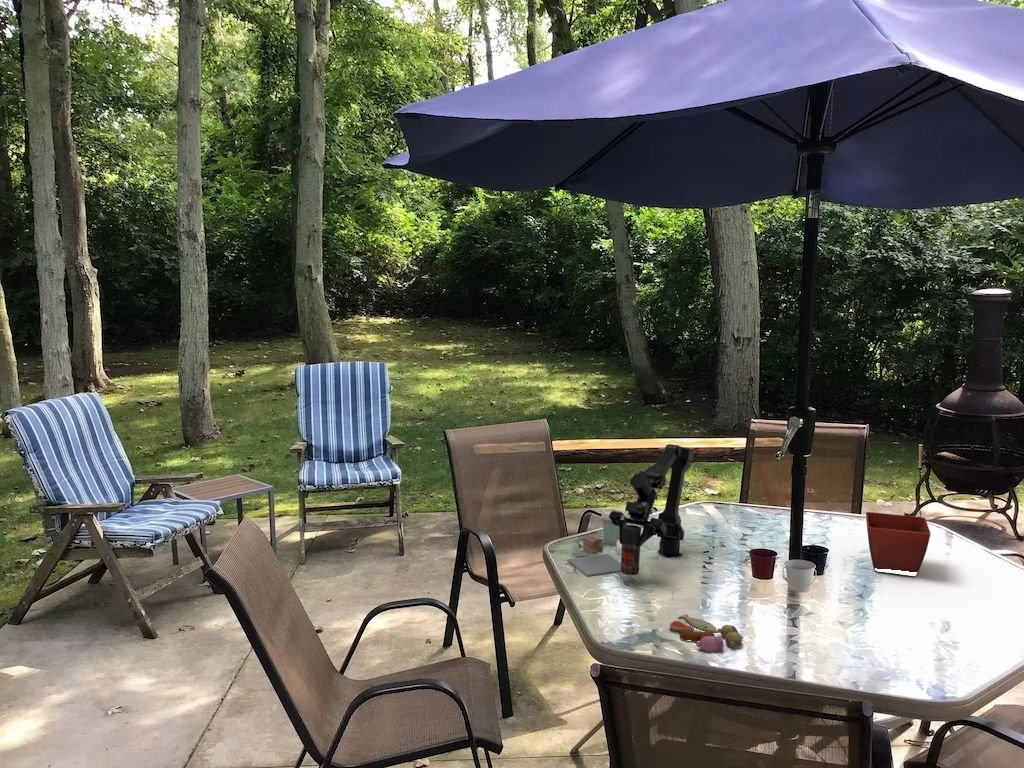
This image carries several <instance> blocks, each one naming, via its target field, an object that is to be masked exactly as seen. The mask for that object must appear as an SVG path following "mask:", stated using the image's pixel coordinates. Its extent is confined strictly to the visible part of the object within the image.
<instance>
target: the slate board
mask: <svg viewBox="0 0 1024 768" xmlns="http://www.w3.org/2000/svg"><path fill="white" fill-rule="evenodd" d="M568 561H569V562H570V565H572V566H573V567H575V568H576V569H577V570H578V571H579V572H580V573H582V574H583V575H584V576H585V577H587V578H588V577H595V575H596V576H603V575H609V574H608V573H611V574H617V573H616V572H618V573H621V561H619V560H617V559H615V557H613V556H611V555H610V554H608V553H605V554H598V555H597V554H595V555H588V556H581V557H574V558H573V557H572V558H567V562H568ZM569 562H568V563H569ZM602 574H603V575H602Z"/></svg>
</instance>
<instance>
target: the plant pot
mask: <svg viewBox="0 0 1024 768" xmlns="http://www.w3.org/2000/svg"><path fill="white" fill-rule="evenodd" d="M865 521H866V522H865V523H866V531H867V539H868V547H869V548H868V549H869V553H870V557H871V559H870V560H871V563H872V567H873V569H874V568H877V569H891V570H901V571H909V572H918V573H919V571H920V569H921V567H922V564H923V562H924V560H925V557H926V554H927V550H928V546H929V543H930V537H931V531H930V528H929V525H928V522H927V518H926V517H921V516H913V515H903V514H892V513H883V512H875V511H874V512H870V511H866V512H865Z"/></svg>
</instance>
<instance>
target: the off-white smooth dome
mask: <svg viewBox="0 0 1024 768" xmlns="http://www.w3.org/2000/svg"><path fill="white" fill-rule="evenodd" d="M621 552H622V544H620V539H619V540H617V545H616V553H617V554H618V555H620V554H621Z"/></svg>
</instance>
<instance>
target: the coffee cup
mask: <svg viewBox="0 0 1024 768" xmlns="http://www.w3.org/2000/svg"><path fill="white" fill-rule="evenodd" d="M611 511H618V512H622V513H623V514H624V512H623V511H622V510H619V509H616V508H615V509H614V508H612V509H611V508H609V509H603V511H602V513H601V515H600V516H601V520H602V531H603V543H604V542H605V543H606V545H608V546H617V540H619V539H620V530H619V526H616V525H614V524H613V523H612V521H611V520H610V518H609V515H610V512H611ZM605 543H604V544H605Z"/></svg>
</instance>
